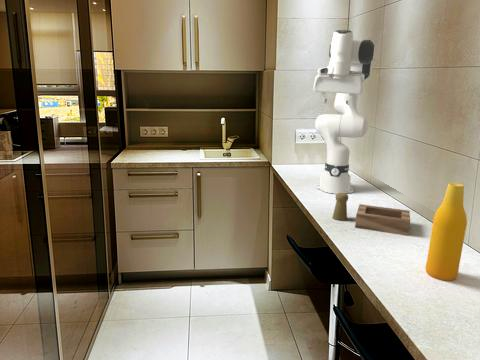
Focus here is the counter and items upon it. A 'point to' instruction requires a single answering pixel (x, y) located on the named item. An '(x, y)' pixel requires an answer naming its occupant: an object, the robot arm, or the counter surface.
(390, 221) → the well block
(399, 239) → the counter surface
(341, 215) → the cork
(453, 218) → the beer bottle
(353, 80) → the robot arm
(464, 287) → the counter surface
